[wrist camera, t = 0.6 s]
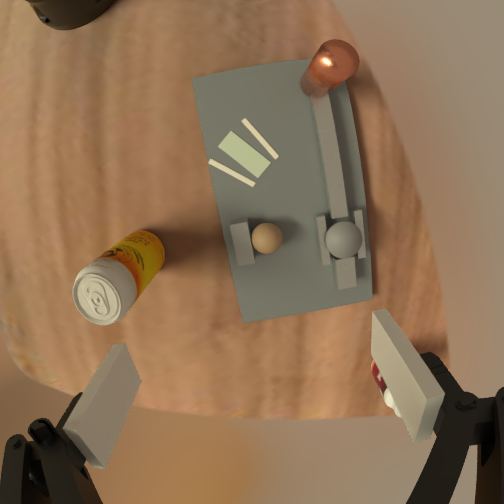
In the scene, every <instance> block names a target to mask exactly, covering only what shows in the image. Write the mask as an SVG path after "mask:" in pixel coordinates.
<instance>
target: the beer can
mask: <svg viewBox="0 0 504 504" xmlns="http://www.w3.org/2000/svg"><path fill="white" fill-rule="evenodd" d="M164 260H165V250H164V247H163V244H162V243H161V241H160V240H159V239H158V237H156V236H155V235H154V234H152V233H150V232H148V231H135V232H133V233H131V234H130V235H128V236H127V237H125V238H124V239H123V240H121V241H120V242H118V243H117V244H116V245H114V246H113V247H112V248H110V249H109V250H108V251H106V252H105V253H103V254H102V255H101V256H99V257H98V258H97V259H95V260H94V261H93V262H91V263H90V264H89V265H87V266H86V267H85V268H84V269H82V270H81V271H80V272H79V274H78V275H77V277H76V280H75V283H74V286H73V299H74V303H75V305H76V307H77V309H78V310H79V312H80V313H81V314H82V315H83V316H84V317H85V318H86V319H87V320H89V321H91V322H93V323H95V324H98V325H108V324H111V323H114V322H117V321H119V320H121V319H122V318H123V317H124V316H125V315H126V313H127V312H128V311H129V309H130V308H131V307H132V305H133V304H134V303H135V301H136V300H137V299H138V297H139V296H140V295H141V293H142V292H143V291H144V289H145V288H146V287H147V285H148V284H149V283H150V281H151V280H152V279H153V277H154V276H155V275H156V273H157V272H158V271H159V270H160V268H161V267H162V265H163V263H164Z"/></svg>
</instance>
